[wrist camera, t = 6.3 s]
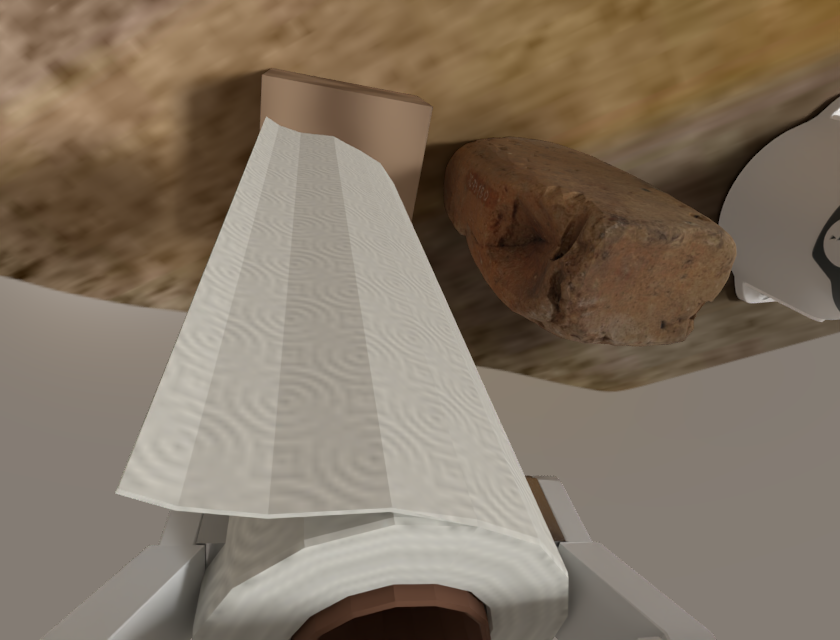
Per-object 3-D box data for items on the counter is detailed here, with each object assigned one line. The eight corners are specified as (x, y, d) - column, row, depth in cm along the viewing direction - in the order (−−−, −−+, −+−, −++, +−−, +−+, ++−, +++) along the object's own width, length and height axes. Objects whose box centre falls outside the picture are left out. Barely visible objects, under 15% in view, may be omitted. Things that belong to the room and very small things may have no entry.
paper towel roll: (395, 256, 28) (544, 712, 10) (281, 260, 27) (220, 777, 9) (398, 117, 24) (644, 448, 6) (265, 115, 23) (106, 508, 5)
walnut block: (417, 96, 36) (432, 106, 31) (394, 229, 41) (404, 258, 36) (271, 68, 34) (261, 74, 29) (264, 213, 39) (255, 241, 33)
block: (581, 144, 40) (774, 231, 23) (552, 235, 43) (701, 370, 26) (448, 121, 37) (552, 197, 20) (428, 219, 41) (503, 355, 24)
